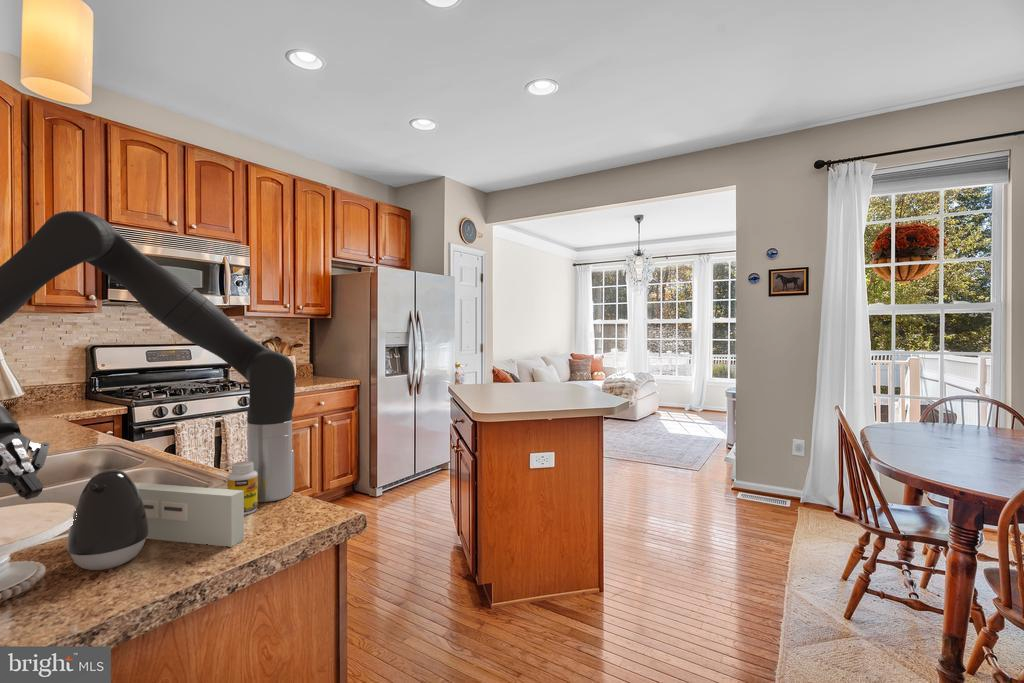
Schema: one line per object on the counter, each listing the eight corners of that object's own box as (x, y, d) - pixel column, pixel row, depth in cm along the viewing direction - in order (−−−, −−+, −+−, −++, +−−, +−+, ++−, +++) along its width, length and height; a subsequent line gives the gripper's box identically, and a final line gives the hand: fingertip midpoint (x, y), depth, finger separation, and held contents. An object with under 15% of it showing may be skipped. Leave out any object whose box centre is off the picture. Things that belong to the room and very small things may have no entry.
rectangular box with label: (123, 528, 93) (122, 481, 93) (243, 539, 89) (243, 490, 89) (105, 535, 90) (104, 487, 90) (229, 548, 85) (229, 496, 85)
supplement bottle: (231, 519, 98) (231, 468, 98) (224, 511, 102) (223, 463, 102) (261, 512, 102) (261, 463, 102) (253, 505, 106) (253, 458, 106)
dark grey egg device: (50, 583, 73) (49, 482, 73) (89, 552, 83) (88, 463, 83) (131, 574, 76) (130, 476, 76) (158, 545, 86) (158, 459, 86)
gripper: (-63, 410, 77) (-1, 493, 75) (33, 399, 90) (88, 469, 88) (-88, 442, 78) (-27, 524, 76) (10, 426, 91) (65, 496, 89)
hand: (35, 494), depth 82 cm, fingers closed
